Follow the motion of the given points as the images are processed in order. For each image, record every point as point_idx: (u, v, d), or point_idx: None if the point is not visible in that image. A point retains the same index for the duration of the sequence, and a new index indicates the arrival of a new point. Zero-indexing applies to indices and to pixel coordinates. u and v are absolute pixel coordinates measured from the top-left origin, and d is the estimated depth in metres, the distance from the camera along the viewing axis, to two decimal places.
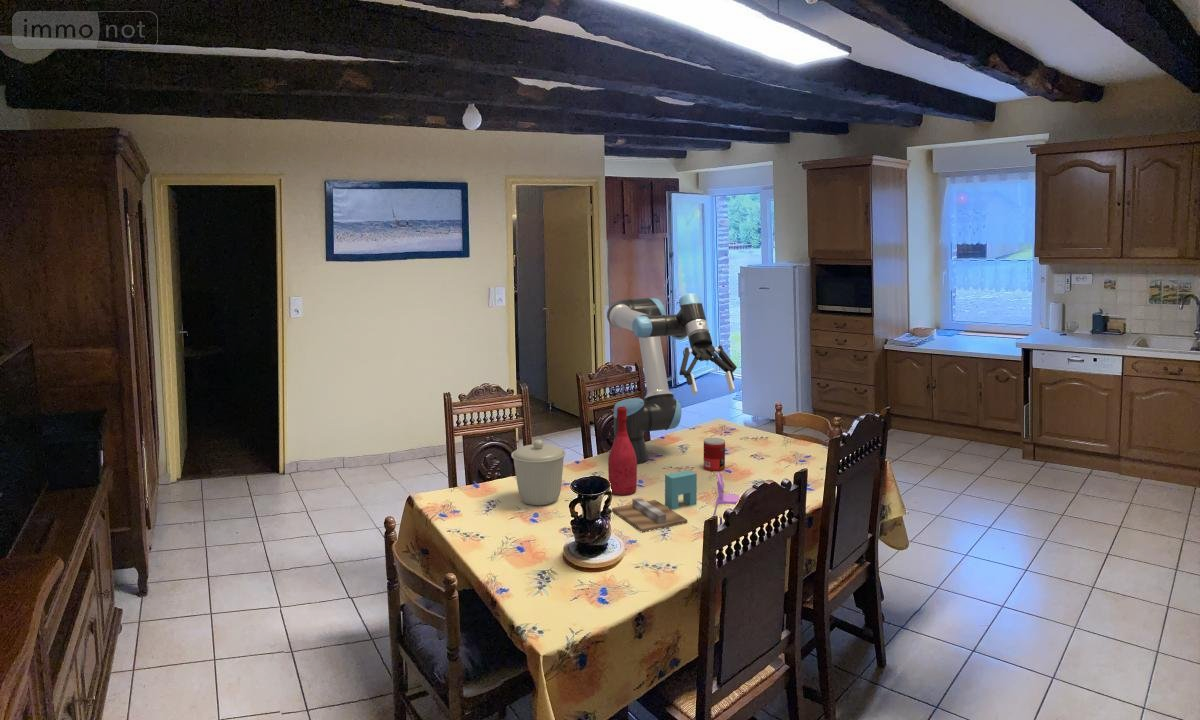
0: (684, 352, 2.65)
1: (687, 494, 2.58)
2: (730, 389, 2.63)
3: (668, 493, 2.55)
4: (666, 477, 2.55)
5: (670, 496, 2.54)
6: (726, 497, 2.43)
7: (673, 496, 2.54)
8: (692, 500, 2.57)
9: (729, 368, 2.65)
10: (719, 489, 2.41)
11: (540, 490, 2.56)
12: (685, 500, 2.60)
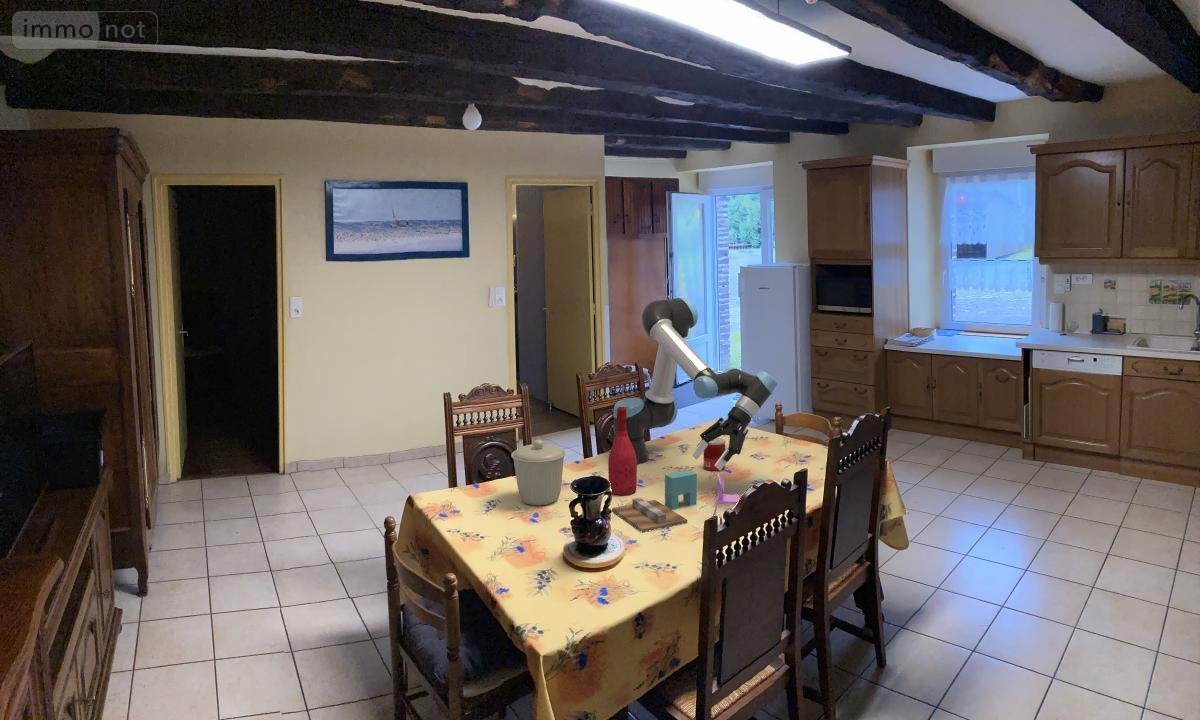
0: (744, 431, 2.56)
1: (687, 494, 2.58)
2: (695, 455, 2.65)
3: (668, 493, 2.55)
4: (666, 477, 2.55)
5: (670, 496, 2.54)
6: (726, 497, 2.43)
7: (673, 496, 2.54)
8: (692, 500, 2.57)
9: None
10: (719, 489, 2.41)
11: (540, 490, 2.56)
12: (685, 500, 2.60)
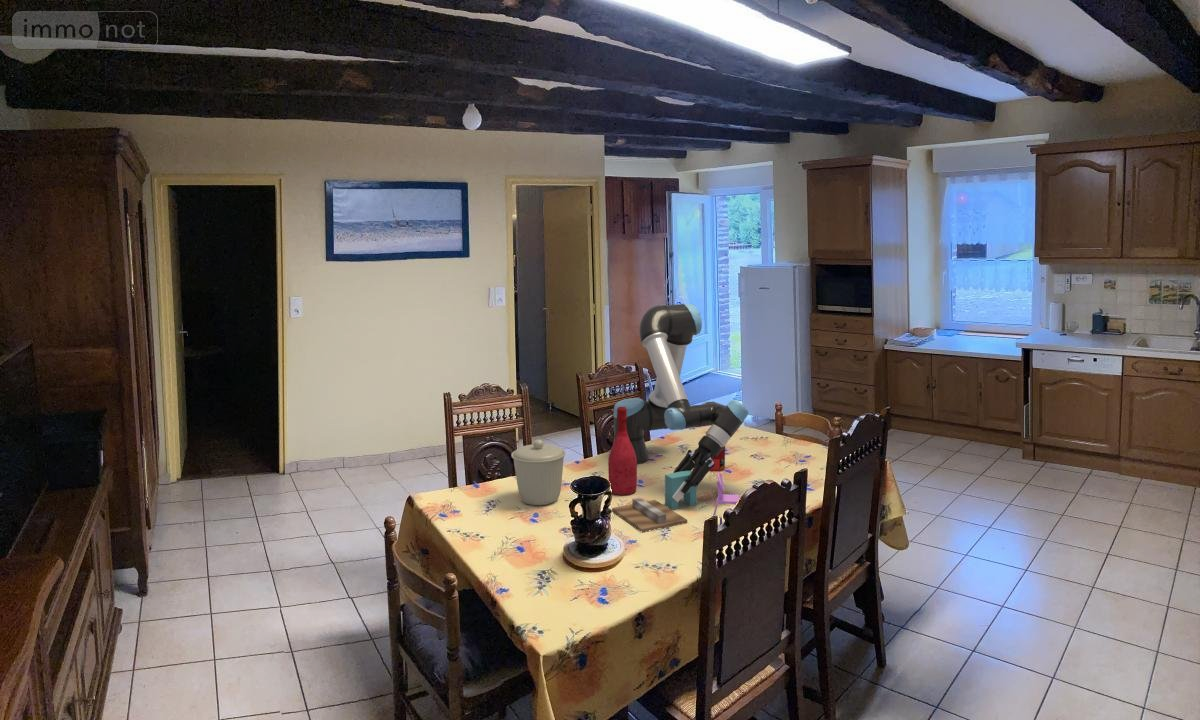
0: (710, 465, 2.53)
1: (687, 494, 2.58)
2: None
3: (668, 493, 2.55)
4: (666, 477, 2.55)
5: (670, 496, 2.54)
6: (726, 497, 2.43)
7: None
8: (692, 500, 2.57)
9: None
10: (719, 489, 2.41)
11: (540, 490, 2.56)
12: (685, 500, 2.60)
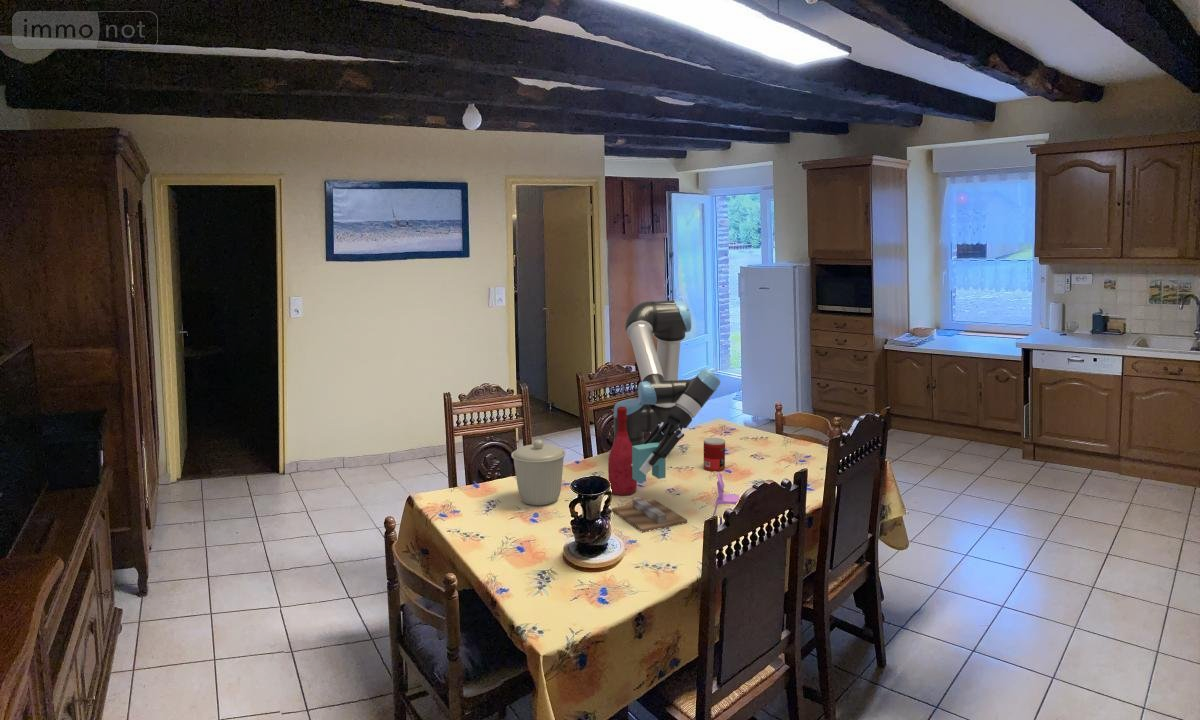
0: (679, 436, 2.41)
1: (656, 467, 2.46)
2: None
3: (635, 465, 2.43)
4: (633, 449, 2.43)
5: (637, 468, 2.42)
6: (726, 497, 2.43)
7: None
8: (661, 473, 2.45)
9: None
10: (719, 489, 2.41)
11: (540, 490, 2.56)
12: (654, 473, 2.47)
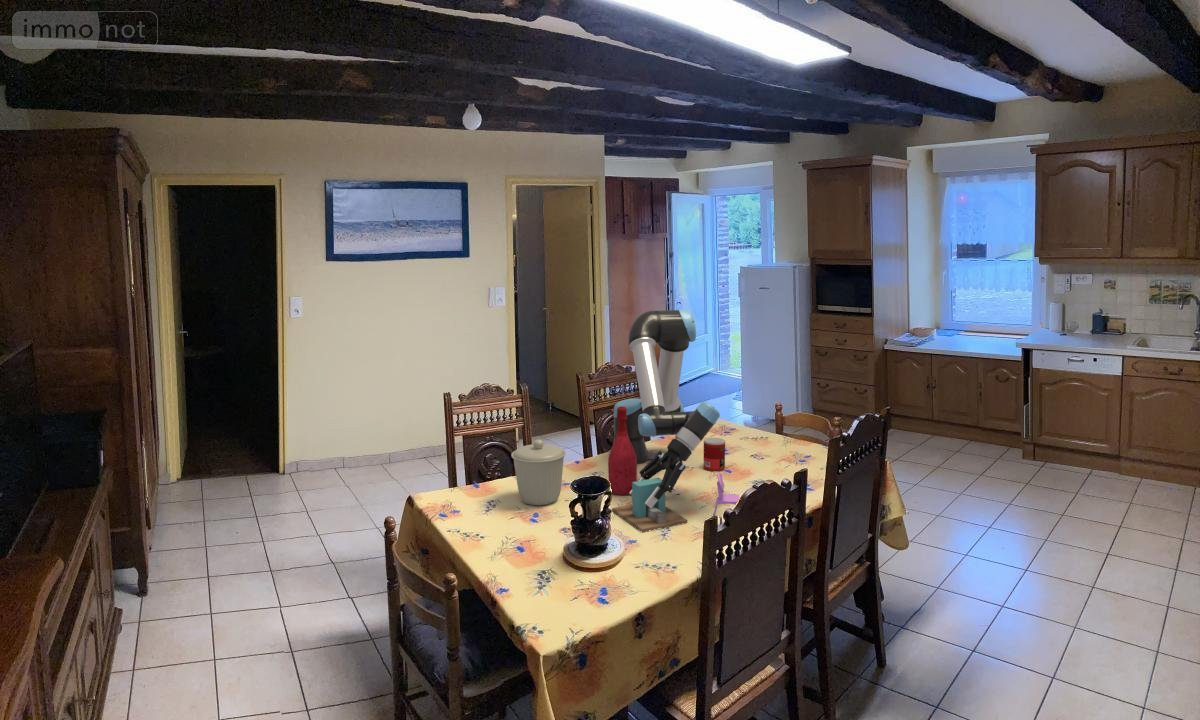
0: (681, 467, 2.43)
1: (655, 503, 2.48)
2: None
3: (635, 502, 2.45)
4: (633, 485, 2.45)
5: (637, 505, 2.44)
6: (726, 497, 2.43)
7: (640, 505, 2.44)
8: (661, 509, 2.47)
9: None
10: (719, 489, 2.41)
11: (540, 490, 2.56)
12: None
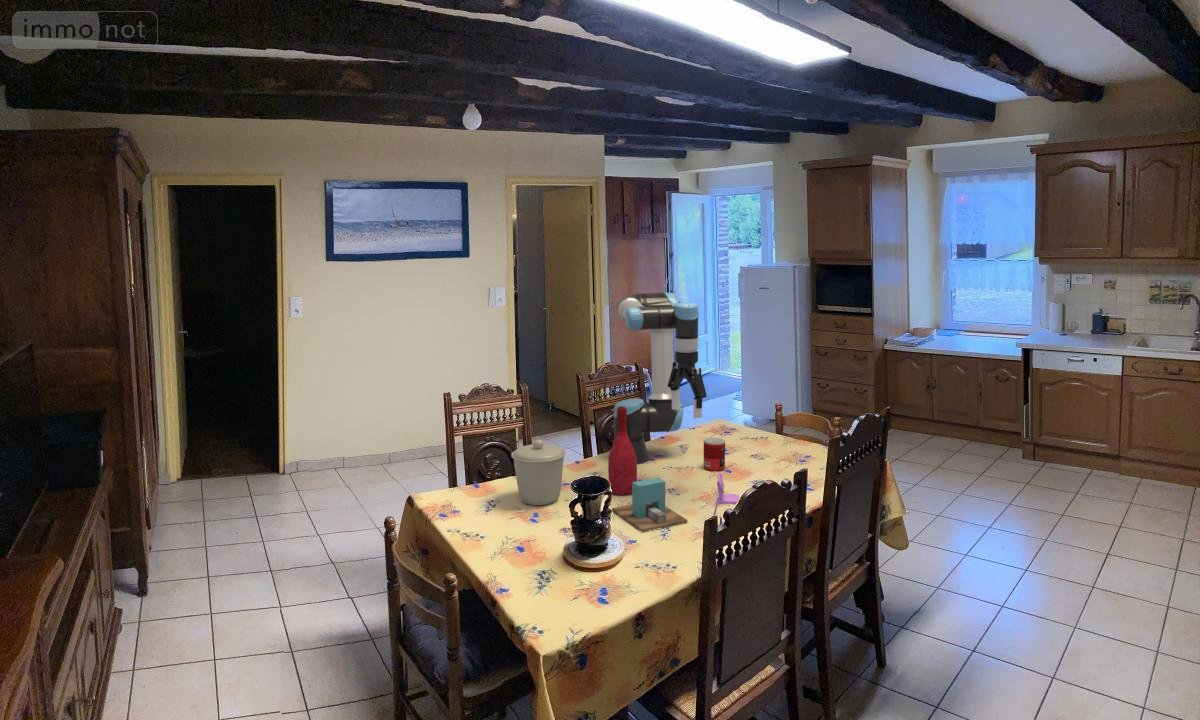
0: (698, 372, 2.53)
1: (655, 503, 2.48)
2: (675, 407, 2.67)
3: (635, 502, 2.45)
4: (633, 485, 2.45)
5: (637, 505, 2.44)
6: (726, 497, 2.43)
7: (640, 505, 2.44)
8: (661, 509, 2.47)
9: None
10: (719, 489, 2.41)
11: (540, 490, 2.56)
12: None
